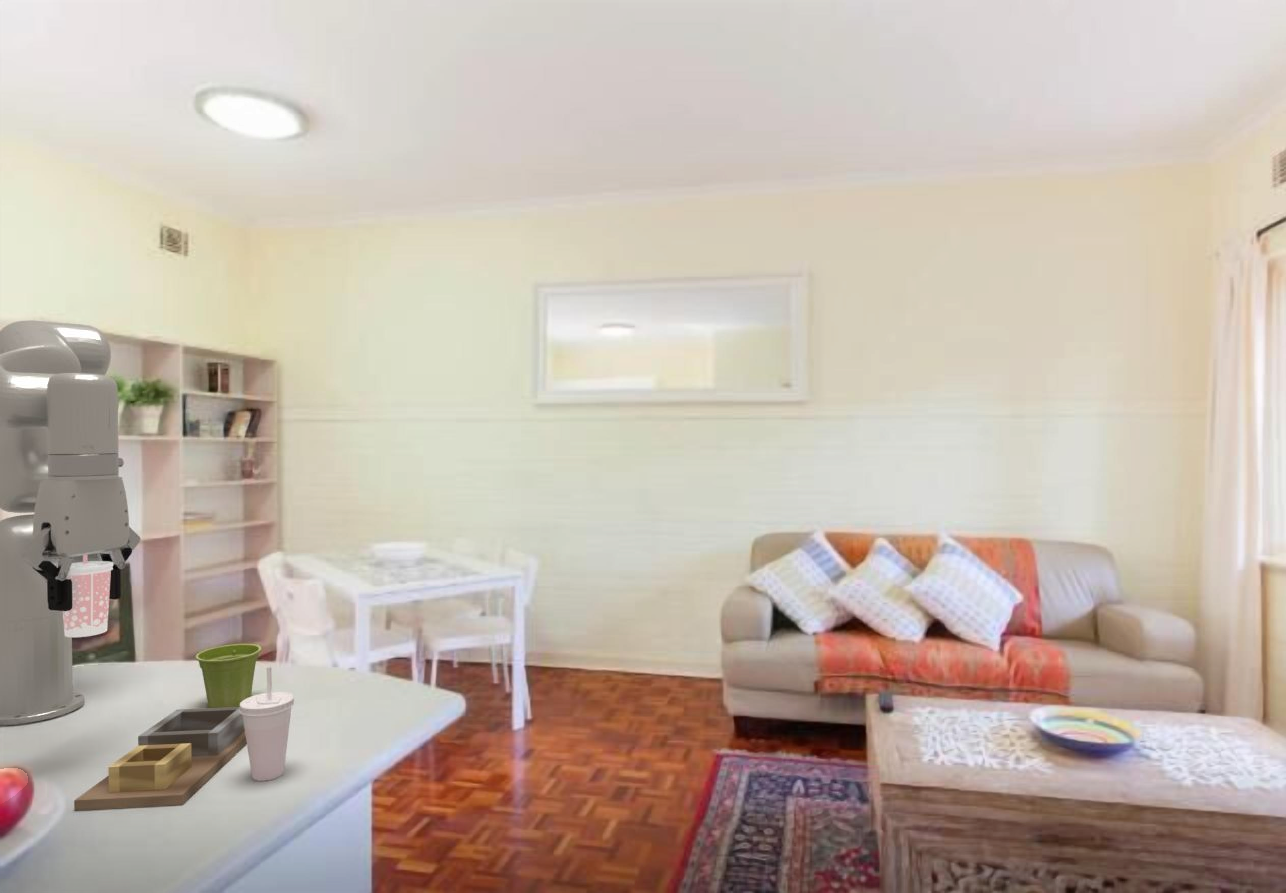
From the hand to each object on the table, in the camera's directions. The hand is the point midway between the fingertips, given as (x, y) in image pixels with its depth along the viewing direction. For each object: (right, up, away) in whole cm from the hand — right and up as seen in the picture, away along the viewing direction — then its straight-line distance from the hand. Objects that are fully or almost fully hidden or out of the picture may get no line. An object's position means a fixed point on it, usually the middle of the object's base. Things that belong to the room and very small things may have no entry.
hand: (85, 602), depth 100 cm
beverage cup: (0, -4, 0) cm, 4 cm away
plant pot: (+6, -22, +24) cm, 33 cm away
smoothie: (+25, -22, -2) cm, 33 cm away
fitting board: (+12, -22, 0) cm, 25 cm away
